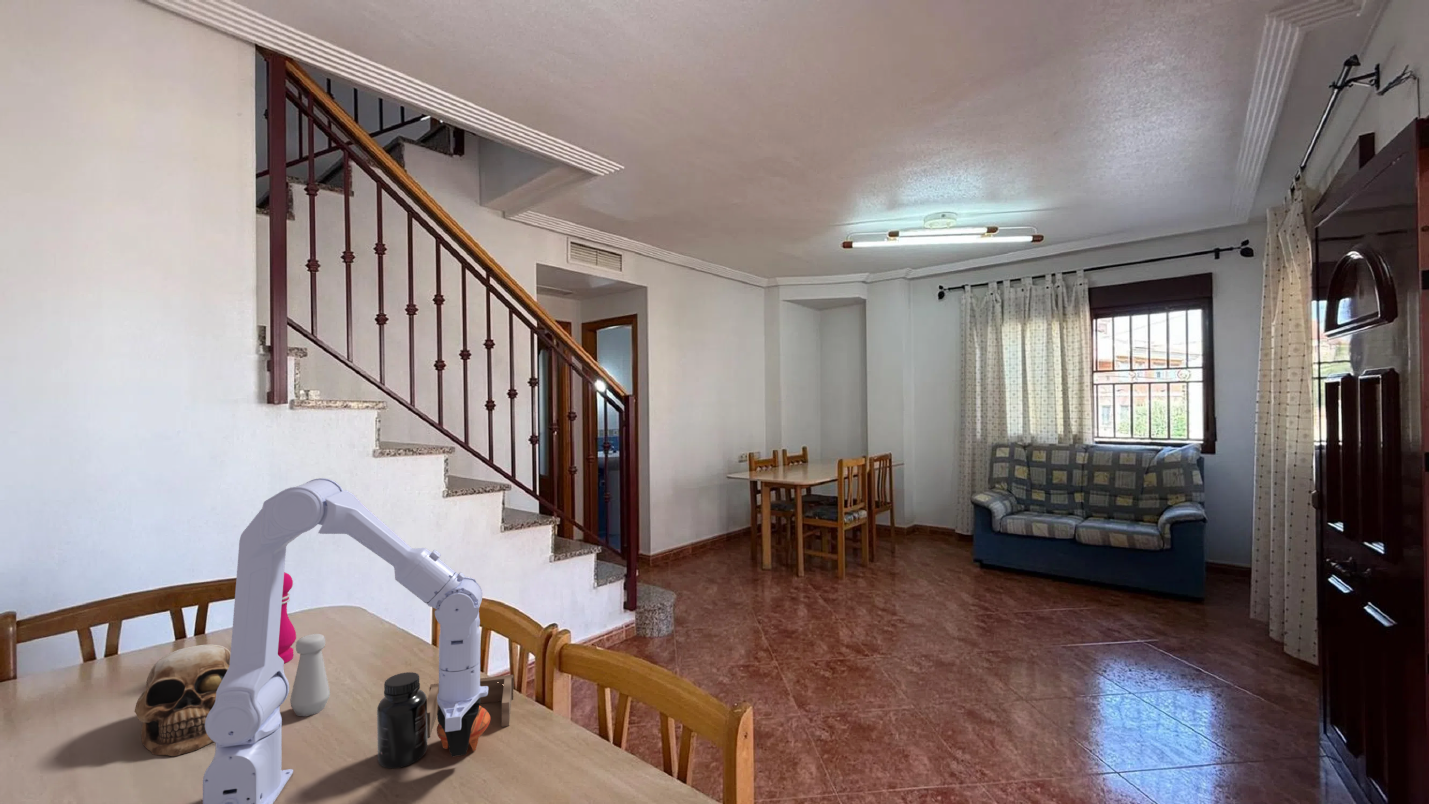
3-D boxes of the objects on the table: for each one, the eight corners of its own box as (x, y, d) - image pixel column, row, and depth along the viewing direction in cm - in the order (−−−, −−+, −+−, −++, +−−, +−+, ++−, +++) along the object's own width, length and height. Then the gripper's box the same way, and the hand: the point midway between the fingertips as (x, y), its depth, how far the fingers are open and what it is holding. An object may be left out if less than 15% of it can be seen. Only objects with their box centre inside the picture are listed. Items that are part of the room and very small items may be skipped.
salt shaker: (309, 721, 101) (309, 645, 101) (281, 717, 102) (281, 641, 102) (337, 703, 107) (338, 631, 106) (310, 700, 108) (311, 628, 108)
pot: (504, 736, 96) (496, 700, 95) (461, 772, 90) (452, 734, 89) (474, 719, 101) (466, 685, 99) (431, 752, 95) (422, 716, 93)
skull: (179, 759, 90) (176, 669, 90) (97, 753, 94) (95, 668, 95) (278, 710, 105) (275, 633, 106) (204, 707, 109) (201, 633, 110)
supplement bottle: (415, 738, 96) (415, 664, 96) (435, 754, 92) (435, 677, 92) (369, 757, 91) (369, 679, 91) (388, 776, 87) (388, 694, 86)
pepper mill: (258, 657, 125) (258, 562, 125) (299, 651, 128) (299, 558, 128) (248, 671, 118) (248, 571, 118) (291, 665, 121) (292, 567, 121)
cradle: (510, 725, 100) (511, 701, 100) (419, 738, 96) (419, 713, 96) (513, 696, 110) (513, 674, 110) (430, 706, 106) (430, 684, 106)
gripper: (484, 682, 83) (483, 778, 83) (491, 640, 97) (491, 723, 97) (428, 688, 81) (428, 787, 81) (444, 645, 95) (444, 729, 95)
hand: (459, 753), depth 89 cm, fingers closed
